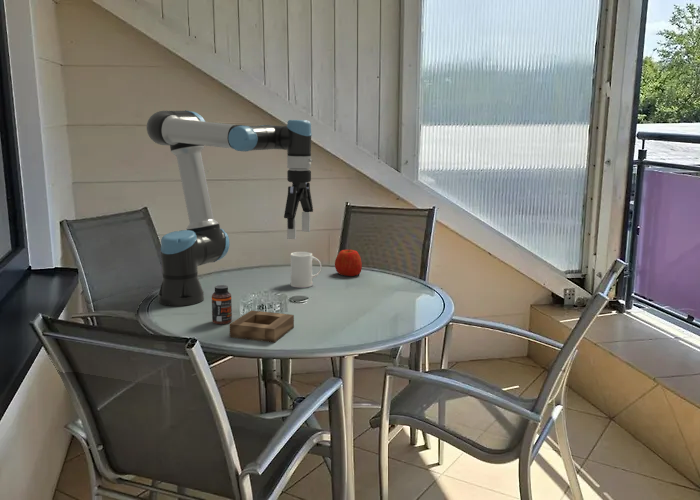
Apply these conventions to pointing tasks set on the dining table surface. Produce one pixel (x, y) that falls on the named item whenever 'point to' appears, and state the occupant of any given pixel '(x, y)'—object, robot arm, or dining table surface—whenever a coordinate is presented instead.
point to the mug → (302, 269)
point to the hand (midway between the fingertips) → (299, 235)
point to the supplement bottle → (221, 305)
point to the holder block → (262, 326)
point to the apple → (348, 263)
